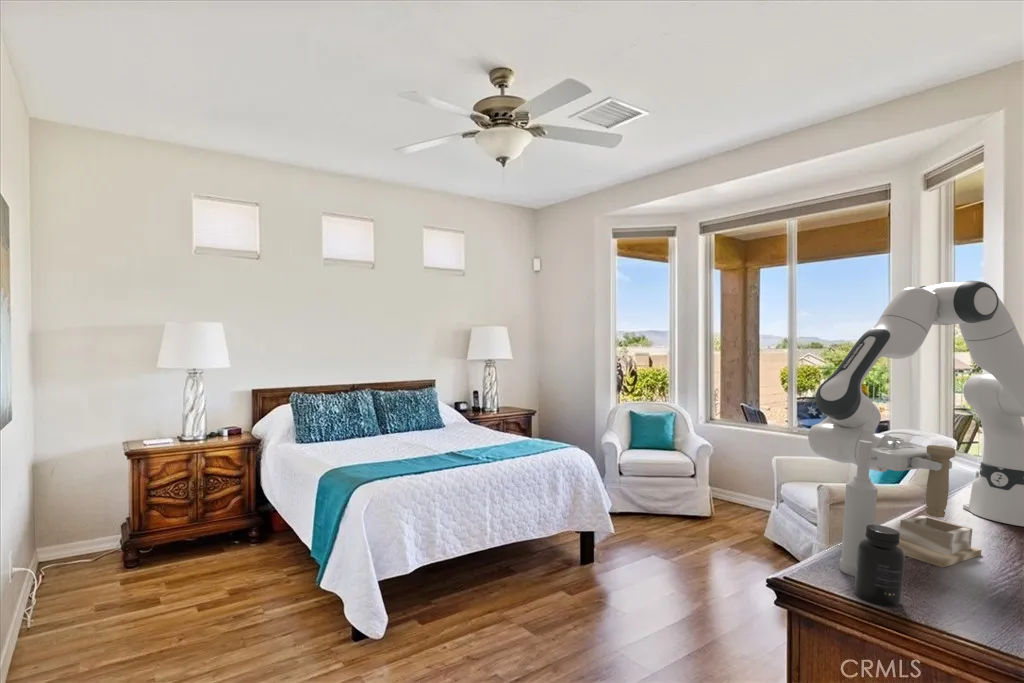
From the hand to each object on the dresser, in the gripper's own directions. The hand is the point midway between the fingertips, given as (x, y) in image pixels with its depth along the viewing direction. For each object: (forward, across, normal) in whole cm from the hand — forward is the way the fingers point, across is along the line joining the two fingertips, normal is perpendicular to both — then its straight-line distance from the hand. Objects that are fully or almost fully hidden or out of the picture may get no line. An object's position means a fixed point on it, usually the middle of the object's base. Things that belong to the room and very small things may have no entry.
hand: (945, 466), depth 124 cm
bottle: (-1, -32, +19) cm, 37 cm away
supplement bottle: (+7, -40, +19) cm, 45 cm away
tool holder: (-1, -2, +18) cm, 19 cm away
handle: (-1, 0, +11) cm, 11 cm away
